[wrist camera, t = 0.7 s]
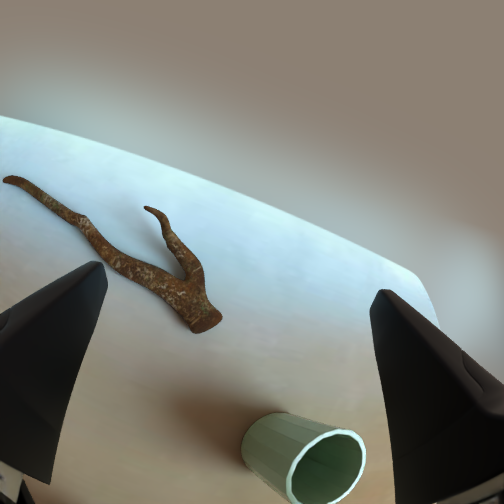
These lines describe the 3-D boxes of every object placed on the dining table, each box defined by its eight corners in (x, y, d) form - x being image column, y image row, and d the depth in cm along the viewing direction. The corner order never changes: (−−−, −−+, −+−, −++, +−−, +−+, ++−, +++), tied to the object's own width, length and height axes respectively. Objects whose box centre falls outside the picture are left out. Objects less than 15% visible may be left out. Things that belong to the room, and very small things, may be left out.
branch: (5, 184, 18) (-7, 169, 15) (41, 142, 20) (33, 123, 17) (210, 336, 22) (218, 337, 19) (243, 277, 24) (255, 269, 21)
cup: (307, 465, 20) (363, 490, 13) (243, 481, 18) (286, 521, 11) (306, 406, 22) (366, 418, 15) (238, 417, 20) (284, 443, 13)
